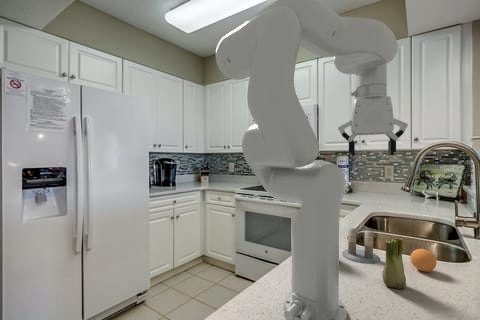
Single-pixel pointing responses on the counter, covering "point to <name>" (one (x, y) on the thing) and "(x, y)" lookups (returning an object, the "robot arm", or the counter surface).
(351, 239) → the back pin
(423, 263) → the ball
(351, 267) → the counter surface
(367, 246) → the front pin
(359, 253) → the light blue plate
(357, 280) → the counter surface
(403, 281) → the fennel bulb
